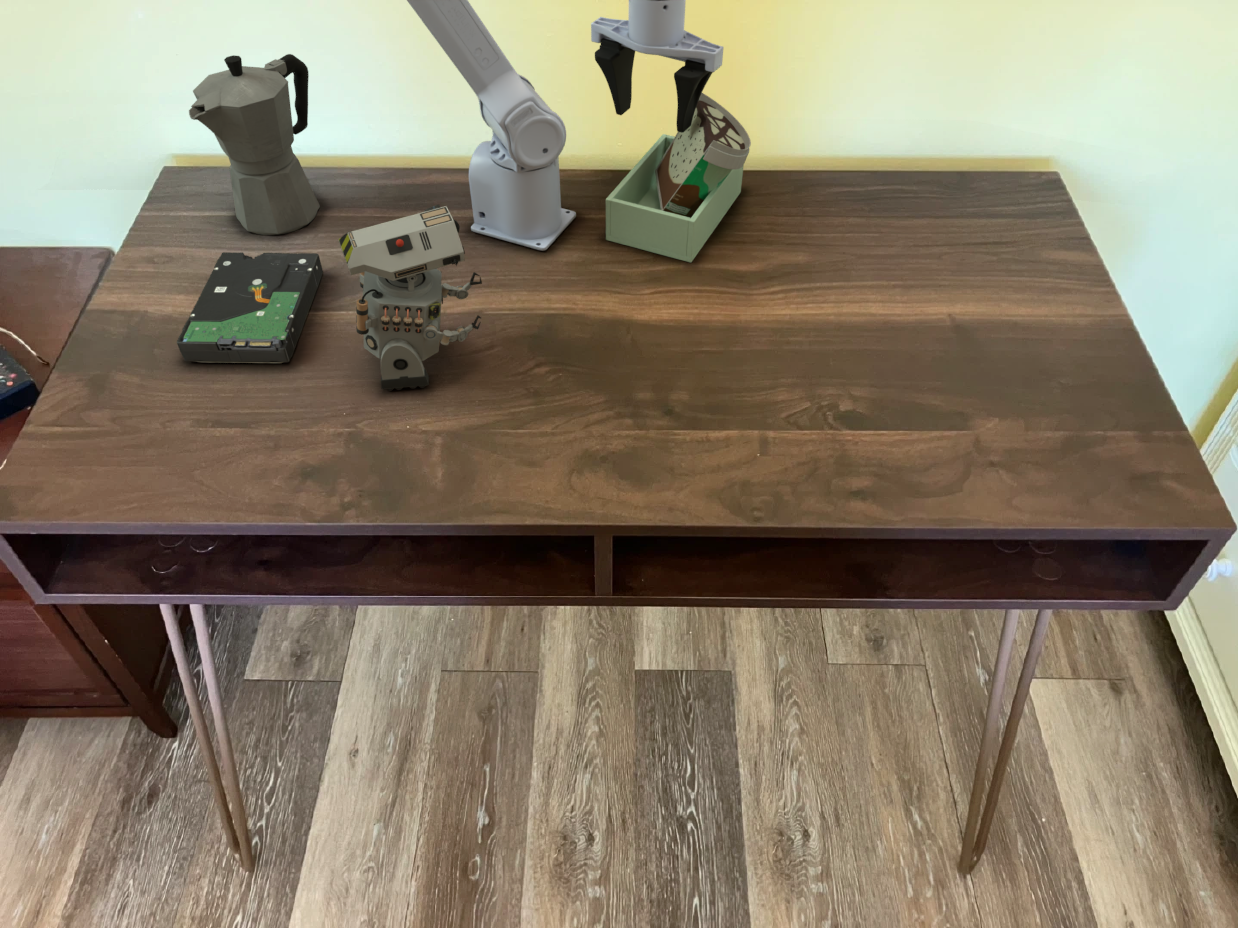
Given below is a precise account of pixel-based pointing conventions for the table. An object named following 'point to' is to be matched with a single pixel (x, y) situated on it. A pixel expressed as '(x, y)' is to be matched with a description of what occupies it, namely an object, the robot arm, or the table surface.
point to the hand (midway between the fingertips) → (653, 119)
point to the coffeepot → (260, 141)
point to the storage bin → (659, 231)
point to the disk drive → (251, 308)
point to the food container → (700, 158)
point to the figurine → (406, 291)
